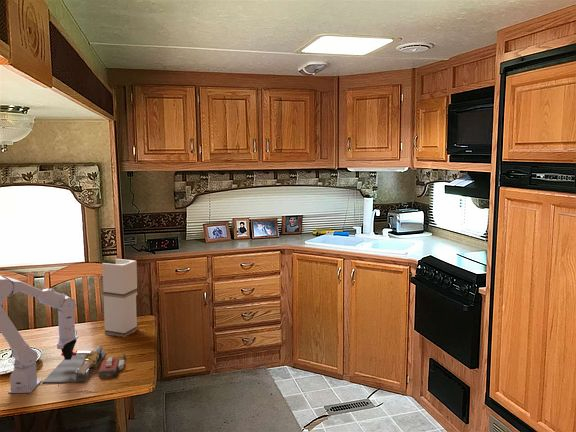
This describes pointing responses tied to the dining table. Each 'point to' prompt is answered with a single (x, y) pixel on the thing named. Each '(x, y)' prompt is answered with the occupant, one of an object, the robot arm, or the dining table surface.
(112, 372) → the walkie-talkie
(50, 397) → the dining table surface
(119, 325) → the tall square wastebasket
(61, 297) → the robot arm
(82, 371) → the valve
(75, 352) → the valve lever
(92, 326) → the dining table surface
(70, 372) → the mounting board
